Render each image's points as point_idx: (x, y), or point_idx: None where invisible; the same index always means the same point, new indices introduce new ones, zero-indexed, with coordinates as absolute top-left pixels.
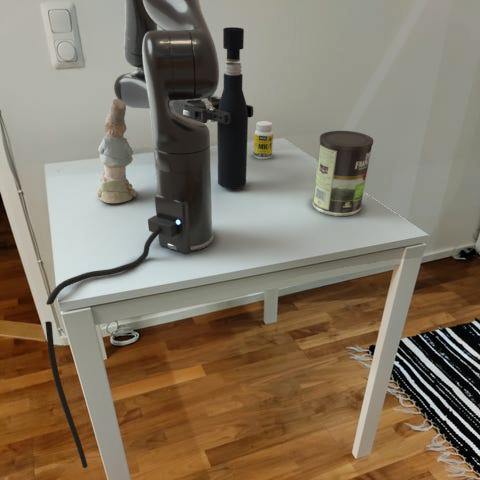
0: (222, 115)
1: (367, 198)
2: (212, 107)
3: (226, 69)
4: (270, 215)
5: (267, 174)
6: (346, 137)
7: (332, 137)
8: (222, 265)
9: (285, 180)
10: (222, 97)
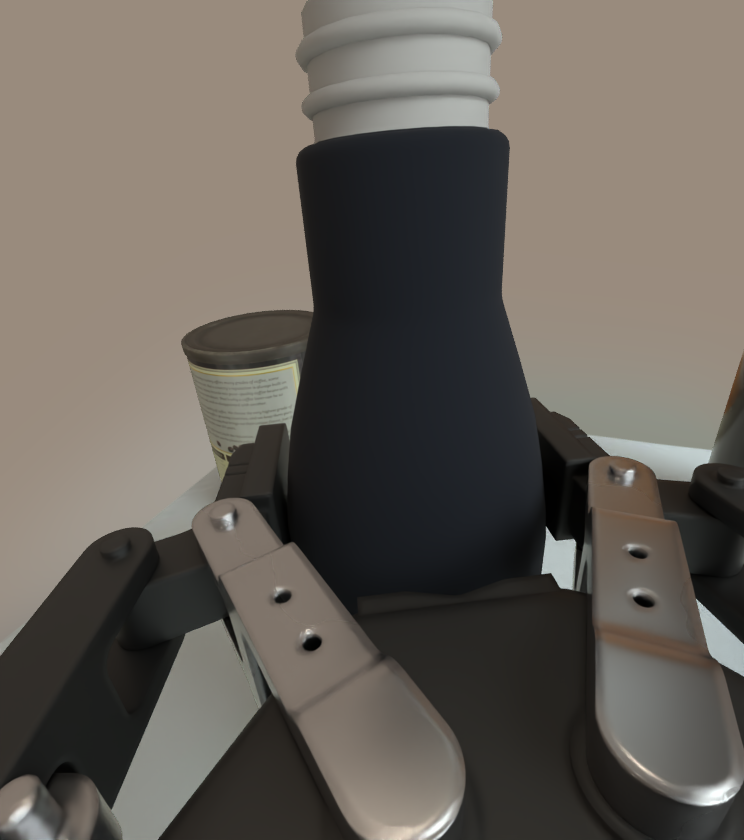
0: (569, 420)
1: (199, 481)
2: (605, 492)
3: (489, 67)
4: None
5: (141, 817)
6: (245, 333)
7: (269, 339)
8: (688, 458)
9: (181, 688)
10: (519, 367)
